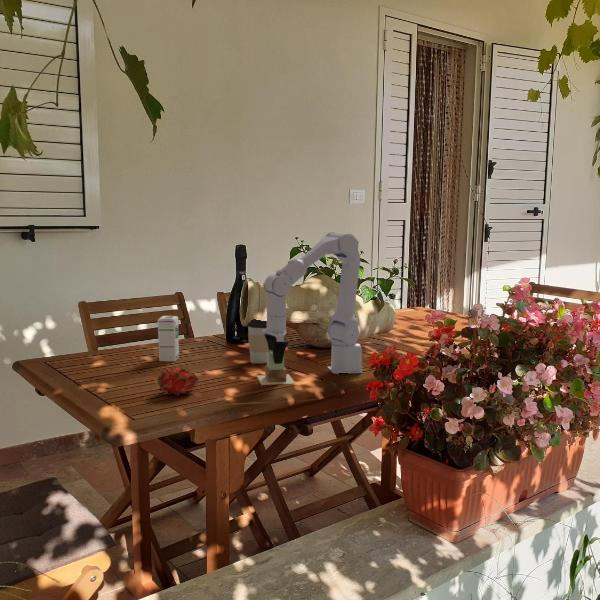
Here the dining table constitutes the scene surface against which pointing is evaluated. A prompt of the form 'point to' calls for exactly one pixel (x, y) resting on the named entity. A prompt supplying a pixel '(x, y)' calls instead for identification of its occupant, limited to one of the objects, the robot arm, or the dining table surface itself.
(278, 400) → the dining table surface
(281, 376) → the walnut block
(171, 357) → the syrup box
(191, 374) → the dragon fruit
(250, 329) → the coffee cup
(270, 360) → the sage block
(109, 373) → the dining table surface
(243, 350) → the dining table surface
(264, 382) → the stone tile
